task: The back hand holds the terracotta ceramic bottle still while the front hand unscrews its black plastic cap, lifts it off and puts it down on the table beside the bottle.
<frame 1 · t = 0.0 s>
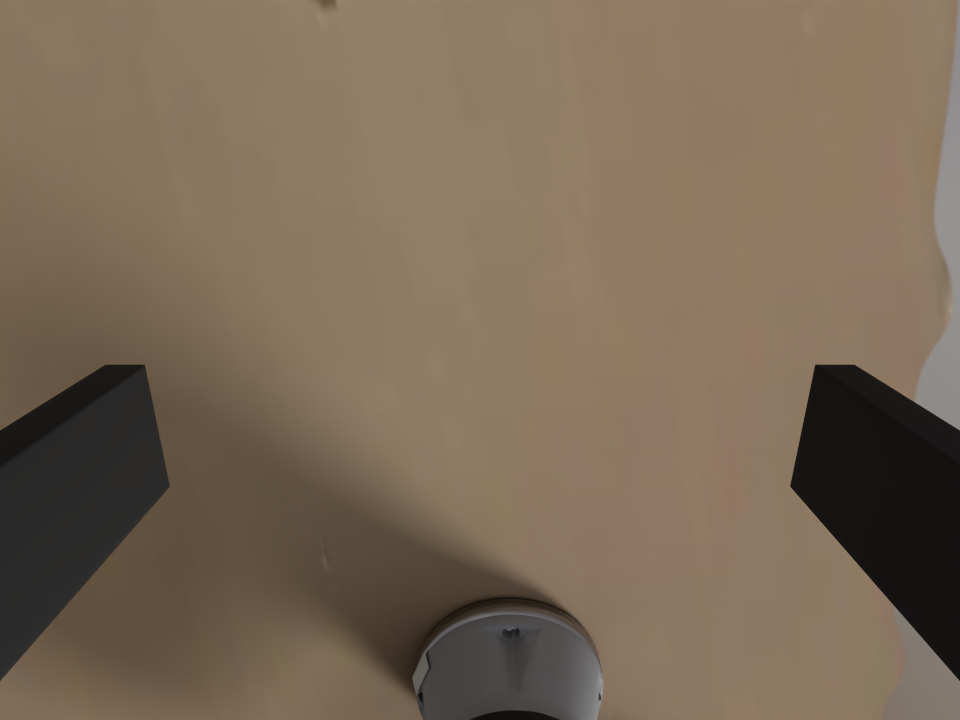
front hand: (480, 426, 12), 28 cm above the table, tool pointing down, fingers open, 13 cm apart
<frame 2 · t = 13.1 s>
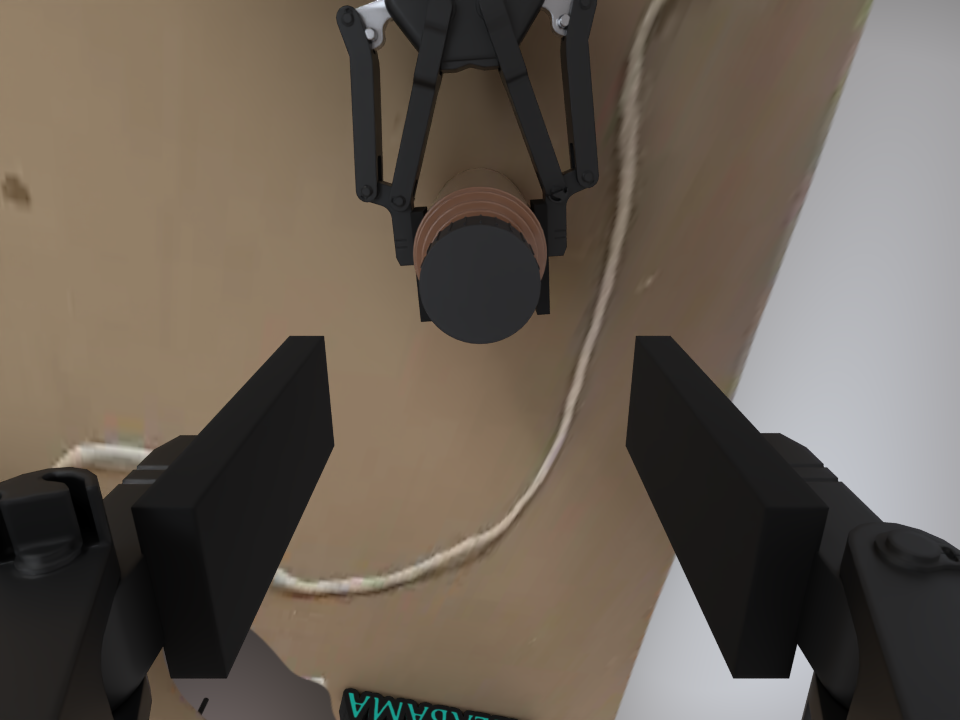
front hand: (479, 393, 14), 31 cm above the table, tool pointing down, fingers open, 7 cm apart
back hand: (485, 311, 38), fingers closed on bottle, 6 cm apart
decorative sign: (439, 712, 59), on the table
bottle: (479, 215, 43), on the table, touching back hand
cap: (479, 284, 24), point 20 cm above the table, screwed on, not yet turned
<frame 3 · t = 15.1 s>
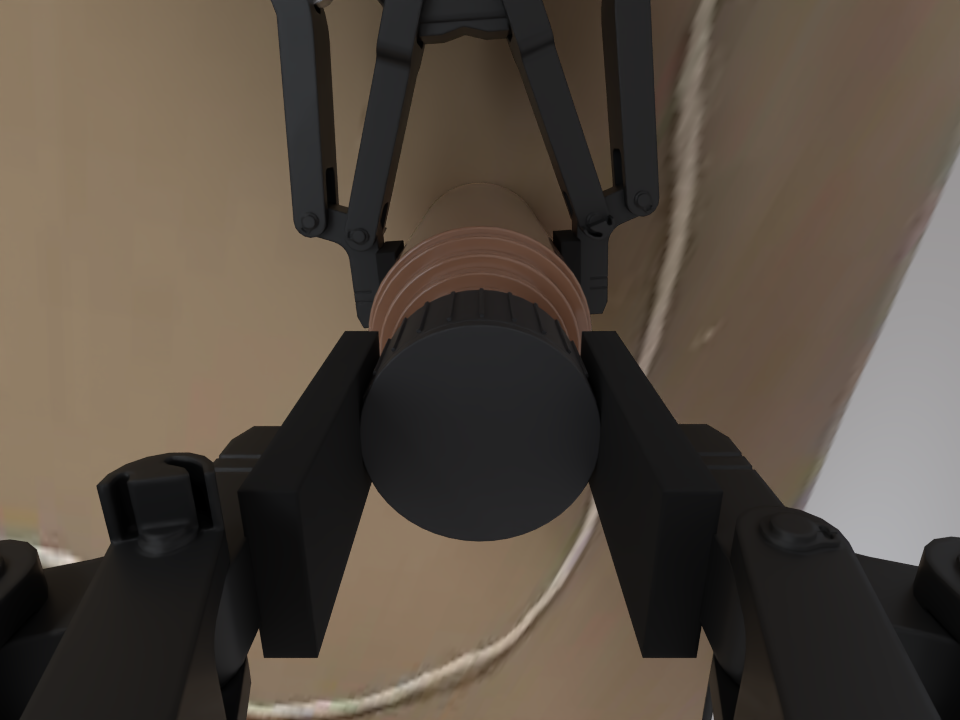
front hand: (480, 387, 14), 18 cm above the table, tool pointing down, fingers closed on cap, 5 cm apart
bottle: (480, 247, 31), on the table, touching back hand
cap: (480, 433, 12), point 20 cm above the table, screwed on, not yet turned, touching front hand
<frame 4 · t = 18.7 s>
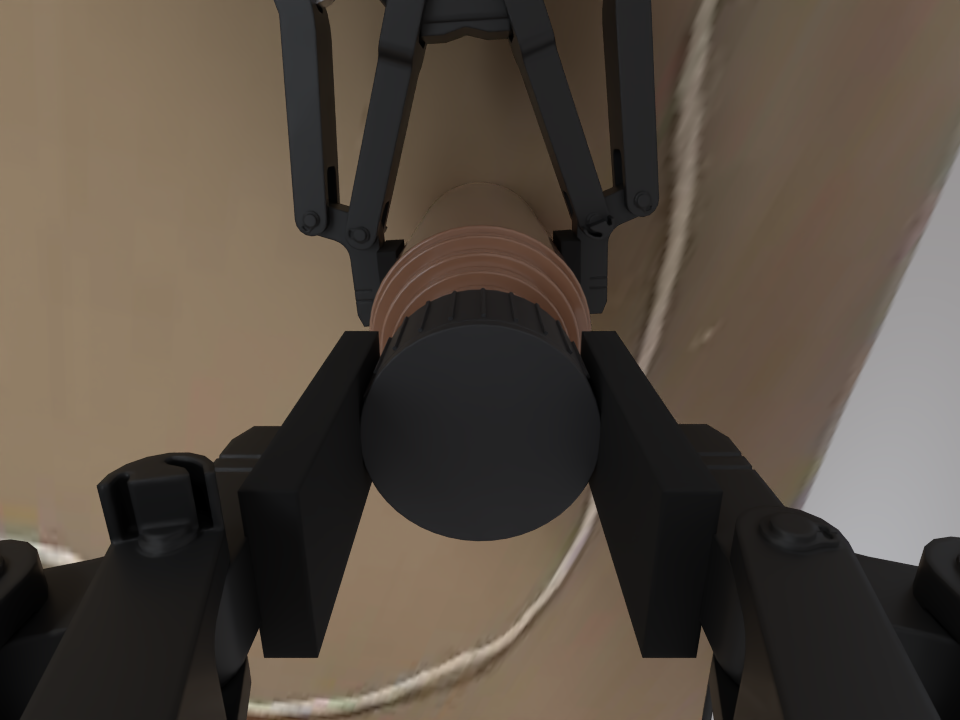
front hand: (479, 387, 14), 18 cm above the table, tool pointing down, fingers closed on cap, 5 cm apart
back hand: (486, 388, 27), fingers closed on bottle, 6 cm apart
bottle: (480, 246, 31), on the table, touching back hand
cap: (480, 433, 12), point 21 cm above the table, turned 105° so far, risen 0.1 cm, still on its thread, touching front hand
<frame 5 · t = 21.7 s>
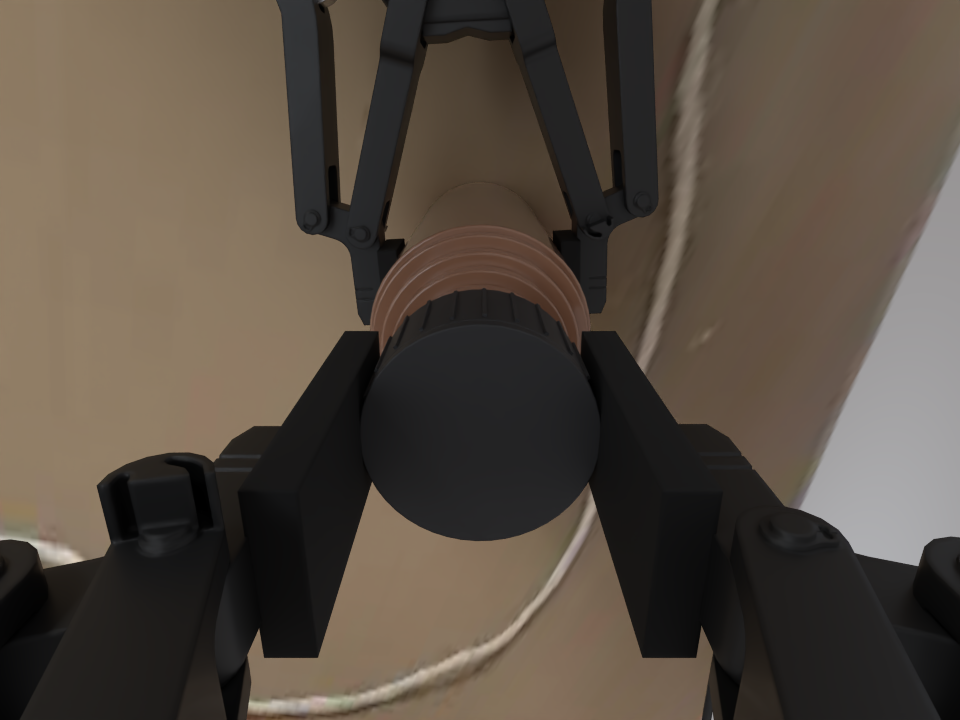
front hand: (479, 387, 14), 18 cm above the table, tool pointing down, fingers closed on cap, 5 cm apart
back hand: (486, 387, 27), fingers closed on bottle, 6 cm apart
bottle: (480, 246, 31), on the table, touching back hand
cap: (480, 433, 12), point 21 cm above the table, turned 209° so far, risen 0.2 cm, still on its thread, touching front hand
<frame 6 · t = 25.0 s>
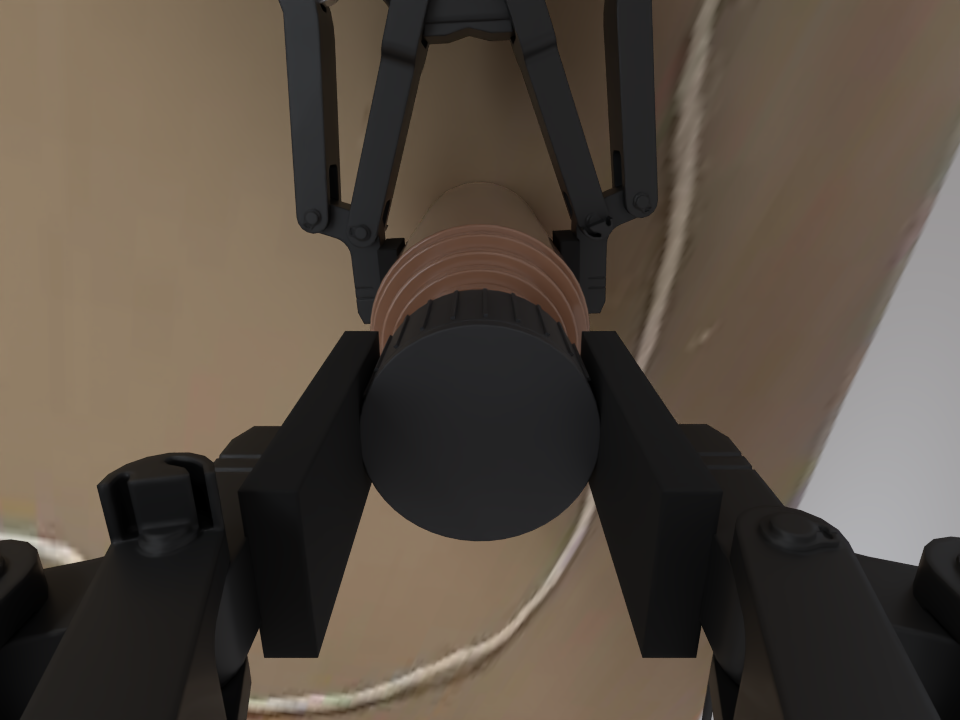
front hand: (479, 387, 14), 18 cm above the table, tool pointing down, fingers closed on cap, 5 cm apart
back hand: (485, 386, 27), fingers closed on bottle, 6 cm apart
bottle: (479, 245, 31), on the table, touching back hand
cap: (479, 433, 12), point 21 cm above the table, turned 314° so far, risen 0.3 cm, still on its thread, touching front hand
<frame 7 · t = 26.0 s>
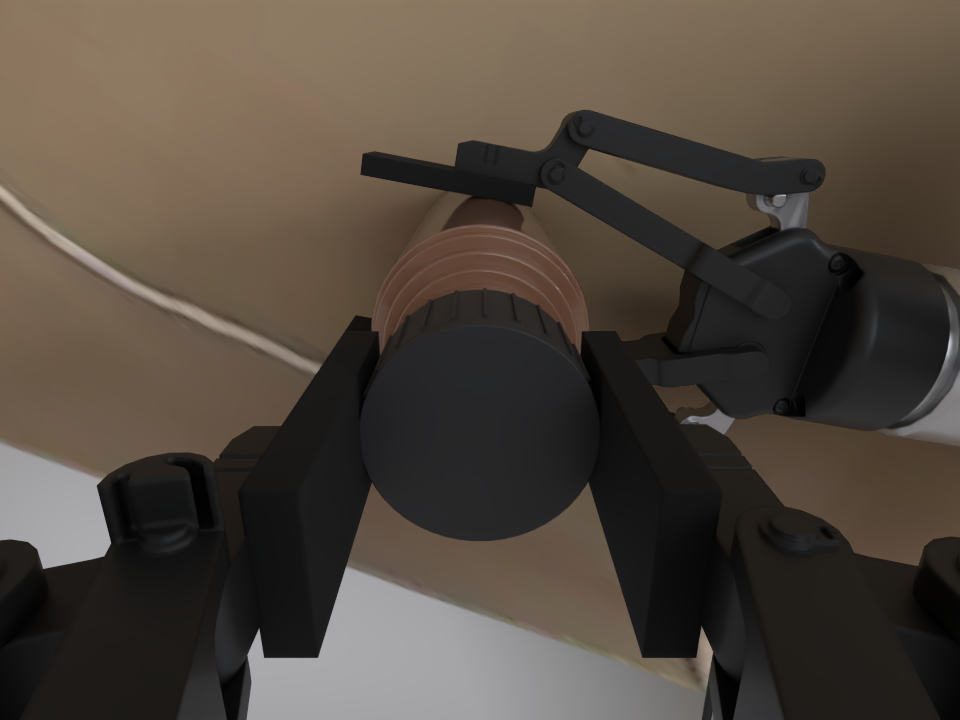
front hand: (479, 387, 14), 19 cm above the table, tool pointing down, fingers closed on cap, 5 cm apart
back hand: (358, 251, 25), fingers closed on bottle, 6 cm apart
bottle: (480, 246, 31), on the table, touching back hand
cap: (479, 433, 12), point 21 cm above the table, off its thread, touching front hand
when the front hand's fingers open (1 cm above the table, at t = 33.0 s): cap stays where it is, point 2 cm above the table.
when the back hand's fingers open (7 cm above the table, at t = 34.2 s): bottle stays where it is, on the table.
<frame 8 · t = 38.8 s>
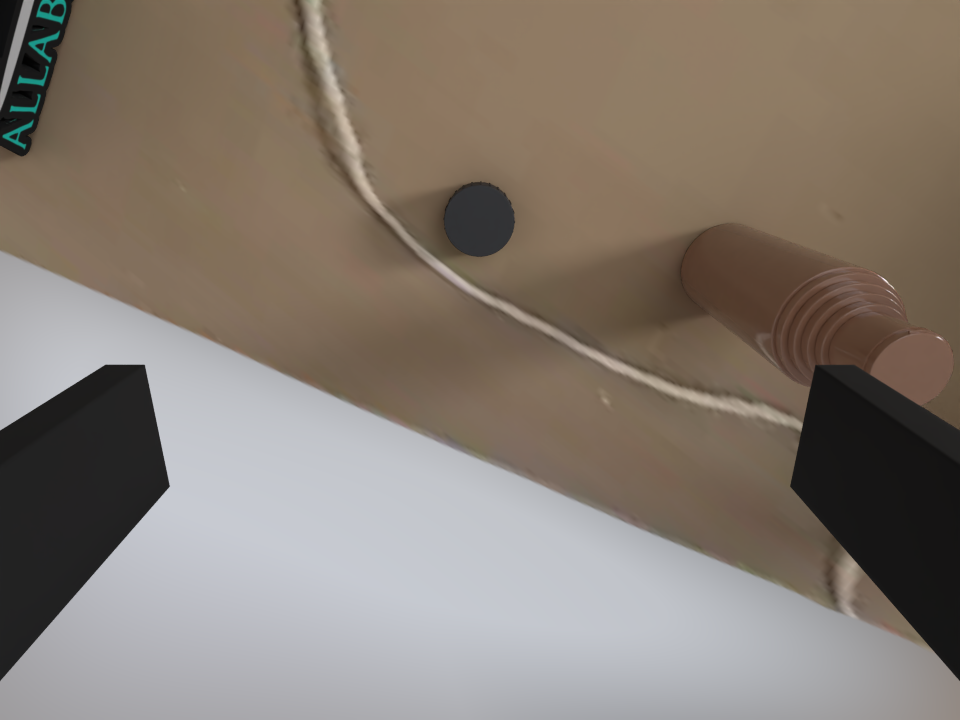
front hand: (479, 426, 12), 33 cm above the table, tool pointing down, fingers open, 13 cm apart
decorative sign: (51, 7, 38), on the table
bottle: (724, 267, 44), on the table
cap: (479, 221, 41), point 2 cm above the table, off its thread
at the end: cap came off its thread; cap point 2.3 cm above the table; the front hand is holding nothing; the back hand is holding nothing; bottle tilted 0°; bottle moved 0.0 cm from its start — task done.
